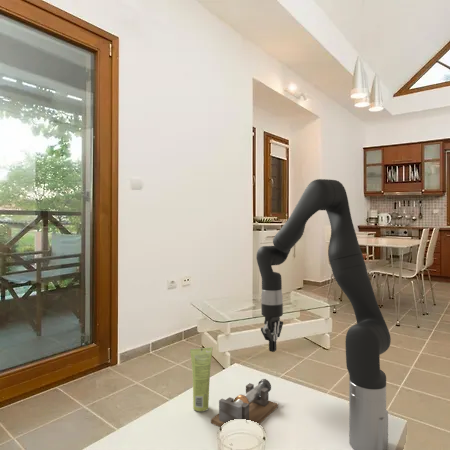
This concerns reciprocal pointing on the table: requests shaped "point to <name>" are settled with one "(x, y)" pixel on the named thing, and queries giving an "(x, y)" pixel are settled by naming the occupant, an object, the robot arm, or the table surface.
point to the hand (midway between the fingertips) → (272, 350)
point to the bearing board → (253, 413)
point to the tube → (201, 377)
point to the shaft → (253, 393)
